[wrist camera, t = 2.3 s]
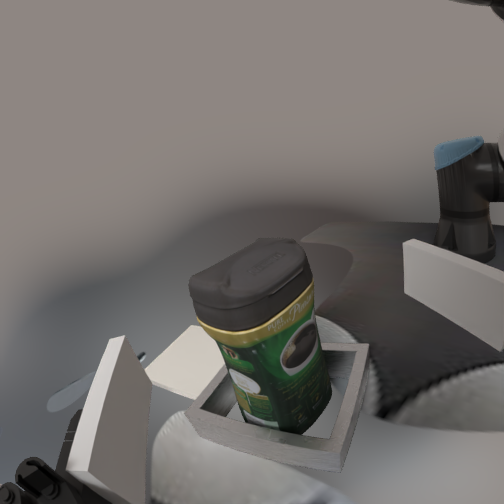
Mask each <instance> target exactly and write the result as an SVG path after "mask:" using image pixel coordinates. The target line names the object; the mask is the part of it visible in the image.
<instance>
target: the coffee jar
mask: <svg viewBox="0 0 504 504" xmlns="http://www.w3.org/2000/svg"><path fill="white" fill-rule="evenodd" d="M189 291H190V296H191V297H192V299H193V305H194V308H195V312H196V315H197V320H198V322H199V324H200V325H201V327H202V328H203V329H204V331H205V332H206V333H207V334H208V335H209V336H210V337H211V338H213V339H214V340H215V342H216V343H217V345H218V347H219V350H220V352H221V354H222V356H223V359H224V362H225V365H226V367H227V370H228V373H229V376H230V379H231V383H232V385H233V389H234V392H235V395H236V399H237V401H238V405H239V408H240V410H241V413H242V416H243V418H244V420H245V422H246V423H248V424H252V425H256V426H260V427H264V428H268V429H273V430H277V431H282V432H287V433H292V434H298V435H302V434H303V433H304V432H305V431H306V430H307V429H309V427H311V426H312V425H313V423H314V422H315V421H316V420H317V419H318V417H319V416H320V415H321V414H322V412H323V411H324V409H325V408H326V406H327V404H328V403H329V401H330V399H331V396H332V388H331V383H330V378H329V374H328V370H327V367H326V363H325V359H324V355H323V351H322V346H321V342H320V338H319V334H318V329H317V324H316V318H315V311H314V282H313V275H312V272H311V269H310V265H309V263H308V259H307V256H306V253H305V251H304V249H303V248H302V247H301V246H300V245H299V244H298V243H297V242H296V241H295V240H294V239H287V238H259V239H257V240H256V241H255V242H254V243H252V244H250V245H249V246H247V247H245V248H244V249H241V250H239V251H237V252H236V253H234V254H232V255H230V256H229V257H227V258H225V259H224V260H222V261H220V262H219V263H217V264H215V265H213V266H211V267H210V268H208V269H206V270H203V271H202V272H199V273H197V274H195V275H193V276H192V277H191V278H190V280H189Z"/></svg>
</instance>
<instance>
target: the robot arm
mask: <svg viewBox="0 0 504 504" xmlns="http://www.w3.org/2000/svg"><path fill="white" fill-rule="evenodd" d="M450 1H455V2H459V3H464V4H471V5H479V6H490V7H491V9H492V11H493V12H494V14H495V15H496V16H497V17H498V18H499V19H500V20H501V21H502V22H503V23H504V0H450ZM434 158H435V170H436V171H437V180H438V189H439V202H440V220H439V224H438V228H437V232H436V235H435V239H434V246H433V245H430V244H428V243H425V242H422V241H419V240H416V239H411V240H409V241H406V242H404V243H403V256H404V293H406V294H407V295H409V296H411V297H412V298H414V299H416V300H418V301H419V302H421V303H423V304H424V305H426V306H428V307H429V308H431V309H433V310H434V311H436V312H438V313H439V314H441V315H443V316H444V317H446V318H448V319H449V320H451V321H453V322H454V323H456V324H457V325H459V326H461V327H462V328H464V329H465V330H467V331H469V332H470V333H472V334H473V335H475V336H476V337H478V338H480V339H481V340H483V341H484V342H486V343H487V344H489V345H490V346H492V347H494V348H495V349H497V350H498V351H500V352H501V351H502V350H503V349H504V272H503V271H500V270H498V269H496V268H493V267H490V266H488V265H485V264H483V263H486V262H488V261H490V260H491V259H492V258H493V257H494V256H495V251H496V241H495V236H494V232H493V228H492V224H491V220H490V216H489V215H490V214H489V203H490V202H504V130H503V131H502V132H501V133H500V136H499V140H498V143H484V140H483V138H482V137H481V136H474V137H468V138H462V139H456V140H452V141H448V142H444V143H440V144H438V145H437V146H436V147H435V149H434ZM151 390H152V382H151V380H150V379H149V377H148V375H147V374H146V372H145V370H144V369H143V367H142V365H141V363H140V362H139V360H138V358H137V356H136V355H135V353H134V351H133V349H132V347H131V345H130V344H129V342H128V340H127V338H126V336H125V335H124V336H120V337H116V338H113V339H110V340H109V343H108V345H107V347H106V350H105V353H104V355H103V357H102V360H101V362H100V365H99V367H98V370H97V372H96V375H95V378H94V380H93V383H92V386H91V388H90V391H89V394H88V397H87V400H86V403H85V406H84V409H81V410H78V411H77V412H76V414H75V415H74V416H73V418H72V419H71V421H70V424H69V427H68V430H67V431H68V433H66V436H65V439H64V440H65V442H63V446H62V449H61V452H60V456H59V459H58V463H57V466H56V470H55V471H54V470H53V469H51V468H50V467H49V466H48V465H47V464H46V463H45V462H44V461H42V460H41V459H39V458H37V457H30V458H27V459H25V460H24V461H23V462H22V463H21V464H20V465H19V467H18V468H17V470H16V474H15V481H16V483H17V484H18V485H19V486H20V487H22V488H23V489H24V490H25V491H23V490H22V489H20V488H19V487H18V486H17V485H15V484H13V483H11V482H7V483H5V484H3V485H2V486H1V487H0V504H145V479H146V451H147V435H148V422H149V421H148V420H149V410H150V400H151Z"/></svg>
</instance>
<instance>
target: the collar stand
mask: <svg viewBox="0 0 504 504" xmlns="http://www.w3.org/2000/svg"><path fill="white" fill-rule="evenodd" d="M321 346H322V351H323V355H324V359H325V363H326V367H327V370H328V374H329V377H333V378H349V382H348V385H347V388H346V392H345V395H344V398H343V402H342V405H341V408H340V411H339V414H338V417H337V420H336V423H335V426H334V428H333V431H332V434H331V436H330V439H323V438H316V437H309V436H303V435H298V434H292V433H287V432H282V431H277V430H273V429H268V428H264V427H260V426H256V425H252V424H248V423H244V422H240V421H237V420H233V419H230V418H226V416H227V414H228V413H229V412H230V410H231V409H232V407H233V406H234V404H235V403H236V402H237V399H236V395H235V392H234V389H233V385H232V383H231V379H230V376H229V373H228V370H227V367H226V365H225V364H224V365H223V366H222V368H221V369H220V370H219V371H218V373H217V374H216V375H215V376H214V378H213V379H212V380H211V381H210V383H209V384H208V385H207V386H206V387H205V389H204V390H203V391H202V392H201V394H200V395H199V396H198V397H197V398H196V400H195V401H194V402H193V403H192V404H191V406H190V407H189V408H188V409H187V410H186V411H185V413H184V414H185V416H186V417H187V419H188V420H189V422H190V423H191V424H192V426H193V427H194V429H195V430H196V431H197V433H198V434H199V435H200V437H202V438H205V439H208V440H210V441H213V442H216V443H218V444H221V445H224V446H227V447H230V448H233V449H236V450H239V451H242V452H245V453H248V454H252V455H255V456H259V457H262V458H266V459H270V460H274V461H278V462H282V463H286V464H291V465H295V466H300V467H305V468H311V469H317V470H323V471H329V472H337V473H341V470H342V467H343V465H344V462H345V459H346V456H347V453H348V450H349V447H350V444H351V441H352V437H353V434H354V430H355V427H356V424H357V420H358V416H359V413H360V409H361V405H362V401H363V397H364V393H365V389H366V384H367V380H368V375H369V344H351V343H321Z"/></svg>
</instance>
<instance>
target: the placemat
mask: <svg viewBox="0 0 504 504" xmlns="http://www.w3.org/2000/svg"><path fill="white" fill-rule="evenodd" d="M224 364H225V362H224V359H223V356H222V354H221V352H220V350H219V347H218V345H217V343H216V342H215V340H214V339H213V338H211V337H210V336H209V335H208V334H207V333H206V332H205V331H204V329H203V328H202V327H201V326H193V325H191V326H190V327H189V328H188V329H187V330H186V331H185V332H184V333H183V334H182V335H180V337H178V338H177V339H176V340H175V341H174V342H173V343H172V344H171V345H170V346H169V347H168V348H167V349H166V350H165V351H164V352H163V353H162V354H161V355H159V356H158V357H157V358H156V359H155V360H154V361H153V362H152V363H151V364H150V365H149V366H148V367H147V368H145V369H144V370H145V372H146V374H147V375H148V377H149V379H150V380H151V382H152V384H154V385H156V386H159V387H162V388H164V389H166V390H169V391H171V392H174V393H177V394H180V395H182V396H185V397H188V398H191V399H194V400H196V398H197V397H198V396H199V395H200V394H201V392H202V391H203V390H204V389H205V387H206V386H207V385H208V384H209V383H210V381H211V380H212V379H213V378H214V376H215V375H216V374H217V373H218V371H219V370H220V369H221V368H222V366H223V365H224Z"/></svg>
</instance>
